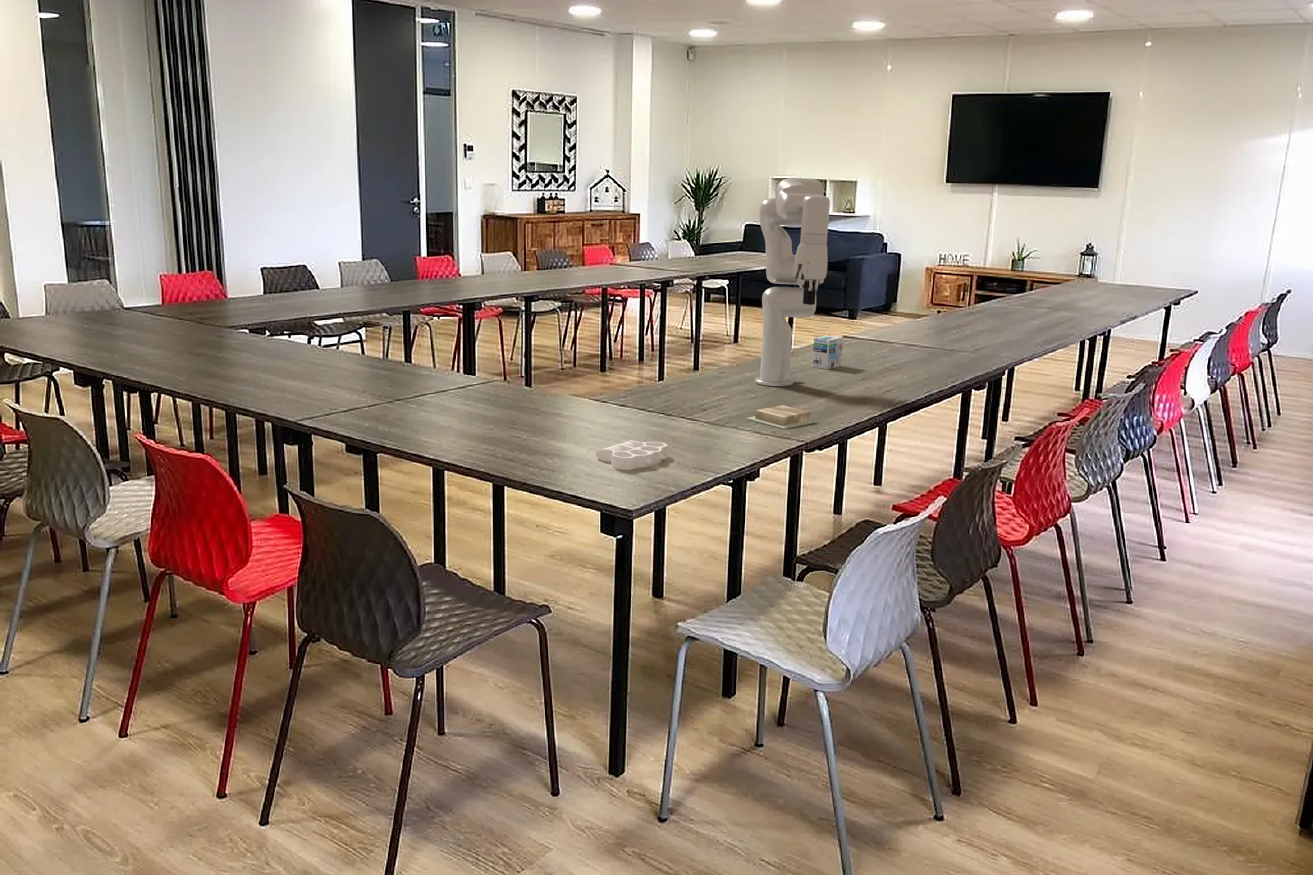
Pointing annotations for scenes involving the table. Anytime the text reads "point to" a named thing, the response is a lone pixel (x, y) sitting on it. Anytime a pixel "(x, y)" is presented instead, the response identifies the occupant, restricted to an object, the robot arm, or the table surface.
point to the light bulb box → (827, 352)
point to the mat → (780, 425)
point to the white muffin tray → (634, 454)
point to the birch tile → (782, 415)
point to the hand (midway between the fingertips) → (808, 304)
